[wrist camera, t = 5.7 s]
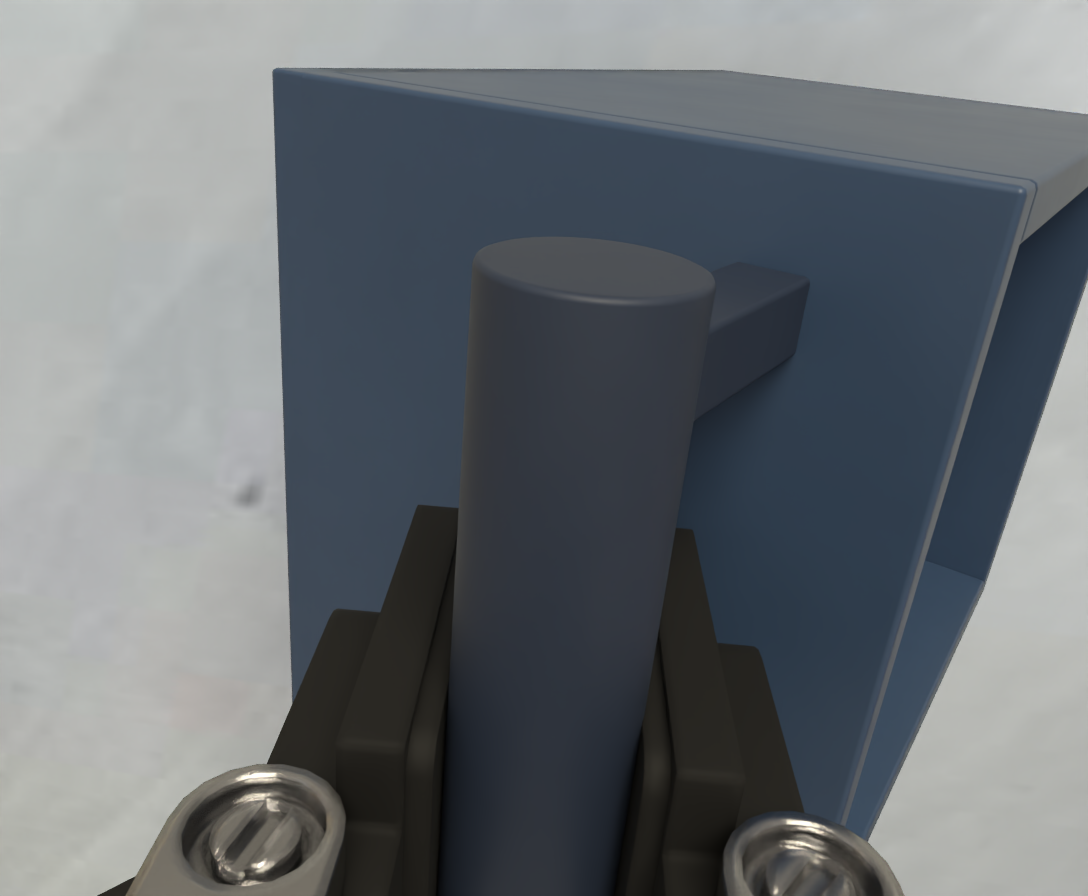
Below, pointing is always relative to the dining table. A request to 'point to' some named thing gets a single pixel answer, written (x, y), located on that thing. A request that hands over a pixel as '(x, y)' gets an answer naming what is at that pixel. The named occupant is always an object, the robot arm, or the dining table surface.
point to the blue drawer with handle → (662, 404)
